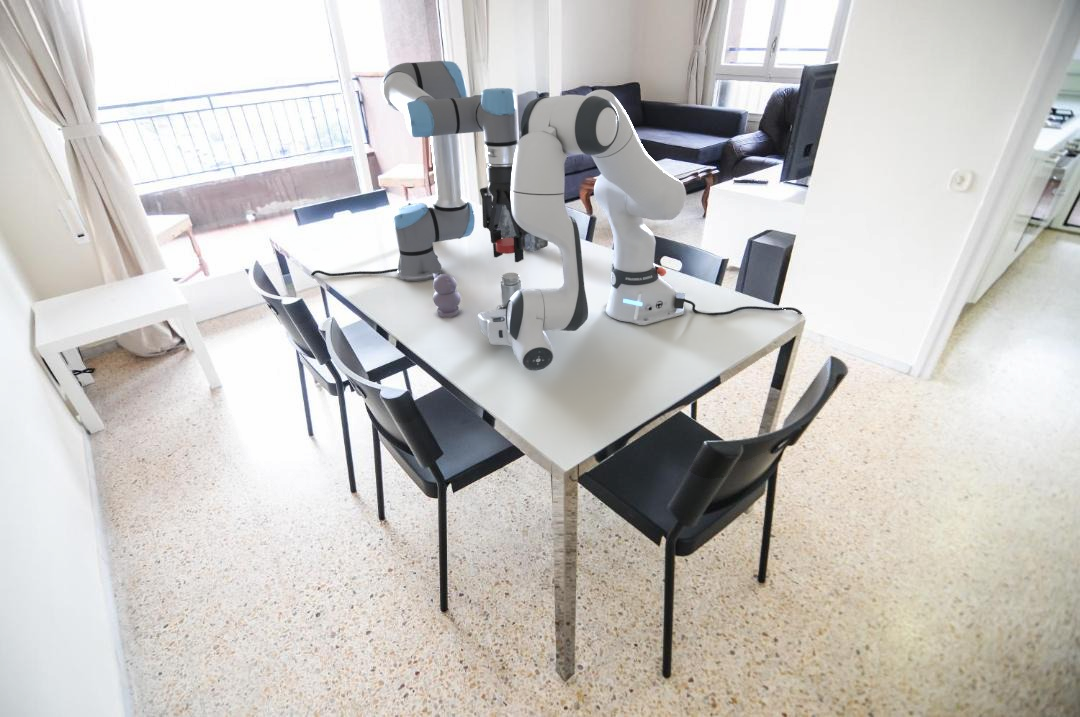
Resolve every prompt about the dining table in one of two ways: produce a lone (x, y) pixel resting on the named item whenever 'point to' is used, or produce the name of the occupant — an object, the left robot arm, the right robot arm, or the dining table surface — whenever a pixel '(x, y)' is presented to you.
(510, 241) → the lid
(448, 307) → the cat figurine
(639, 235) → the right robot arm
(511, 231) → the concrete block
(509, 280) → the grey cylinder
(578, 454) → the dining table surface
